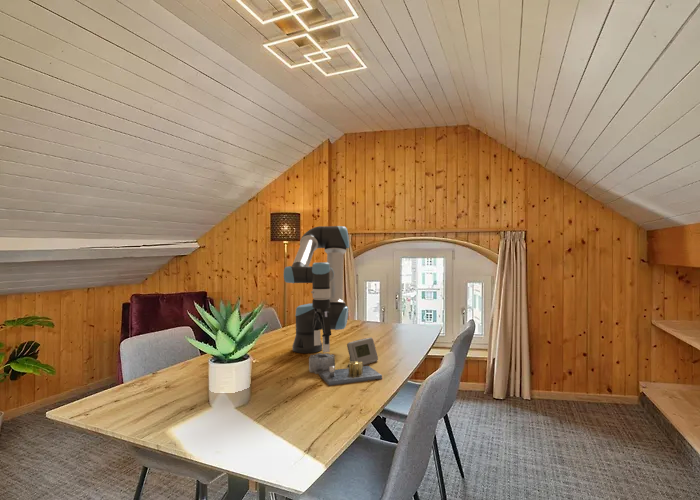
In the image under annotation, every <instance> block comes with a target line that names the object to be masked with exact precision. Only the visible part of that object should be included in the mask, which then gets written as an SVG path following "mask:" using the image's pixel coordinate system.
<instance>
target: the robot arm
mask: <svg viewBox="0 0 700 500" xmlns="http://www.w3.org/2000/svg"><path fill="white" fill-rule="evenodd" d="M348 232H349V231H348V228H347V227H346V226H342V225H341V226H340V225H334V226H333V225H331V226H328V225H326V226H325V225H324V226H314V227H312V228H310V229H309V230H307V231H306V232H305V233H303V235H302V236H301V238H300V240H299V248H298V250H297V252H296V255H295V258H294V260H293V262H292V265H290V266H285V267H284V269H283V279H284V282H285V283H287V284H312V285H311V286H312V290H311V291H310V293H311V294H312V302H311V303H305V304H300V305H298V306H297V307H296V308H295V315H294V317H295V337H294V340H293V343H292V352H293V353H296V354H297V353H298V354H313V353H314V354H315V353H317V352H319V353H320V352H321V351H322V353H330V351H331V349H330V348H331V345H330V344H331V342H330V340H331V339H330V337H331V336H332V331H333V330H335V331H337V330H344V329H345V328H346V326H347V323H348V318H349V307H348V306H347V305H346V302H345V301H344V300H343V299H344V295H343V294H344V255H345V254H346V253H347V249H349V248H350V238H349V233H348ZM317 249H324V253H326V254H327V255H326V261H324V262H322V261H321V262H313V263H312V266H310V264H311V261H312V258H313V255H314V252H315V251H316V250H317ZM321 330H322V335H321ZM321 338H322V340H321Z"/></svg>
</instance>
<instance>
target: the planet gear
mask: <svg viewBox="0 0 700 500" xmlns="http://www.w3.org/2000/svg"><path fill="white" fill-rule="evenodd" d="M330 366H335V367H336V356H335V355H334V354H330V353H329V352H324V353H323V352H322V353H321V352H319V353H317V352H316V353H314V354H310V356H309V357H308V371H309V373H314V375H319V371H328V370H329V367H330Z"/></svg>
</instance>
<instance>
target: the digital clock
mask: <svg viewBox="0 0 700 500" xmlns="http://www.w3.org/2000/svg"><path fill="white" fill-rule="evenodd" d="M346 347H347V351H348V354H349V355H348V356H349V362H350V361H351V362H355V361H358V362H363V366H368V365H370V363H371V364H373V363H374V362H375V363H376V362H378V360H379V357H378V356H379V355H378V352H377V349H376V345H375V342H374V339H373V337H367V338H360V339H358V340H357V339H356V340H353V341H350V342H347V344H346Z"/></svg>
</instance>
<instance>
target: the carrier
mask: <svg viewBox="0 0 700 500" xmlns="http://www.w3.org/2000/svg"><path fill="white" fill-rule="evenodd" d="M318 375H319V377H320V378H321V379H322V380H323V381H324V382H325V383H326V384H327V385H328V386H336V385H346V384H352V383H359V382H361V383H362V382H367V381H368V380H369V381H375V379H377V380H382V379H383V375H382V374H381V373H379V372H378V371H377V370H375V369H374V368H372V367H371V366H369V365H364V366H363V362H358V361H355V362H351V361H350V360H349V362H348V367H346V368H337V369H336V365H335V366H330V367H329V370H328V371H319V374H318ZM369 381H368V382H369Z"/></svg>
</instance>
